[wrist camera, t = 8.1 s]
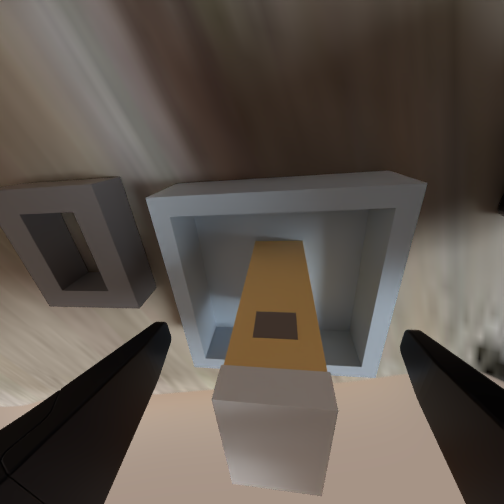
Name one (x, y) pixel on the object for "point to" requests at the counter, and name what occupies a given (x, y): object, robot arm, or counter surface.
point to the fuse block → (63, 247)
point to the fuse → (276, 379)
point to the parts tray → (315, 246)
